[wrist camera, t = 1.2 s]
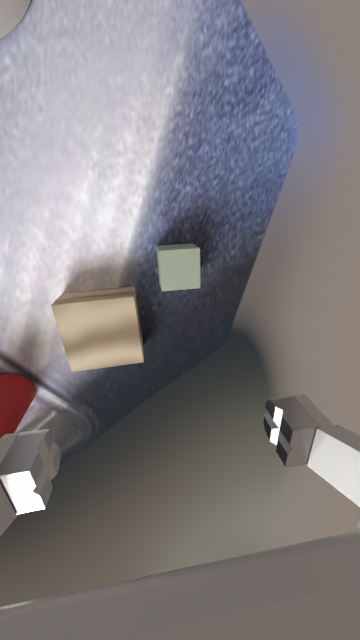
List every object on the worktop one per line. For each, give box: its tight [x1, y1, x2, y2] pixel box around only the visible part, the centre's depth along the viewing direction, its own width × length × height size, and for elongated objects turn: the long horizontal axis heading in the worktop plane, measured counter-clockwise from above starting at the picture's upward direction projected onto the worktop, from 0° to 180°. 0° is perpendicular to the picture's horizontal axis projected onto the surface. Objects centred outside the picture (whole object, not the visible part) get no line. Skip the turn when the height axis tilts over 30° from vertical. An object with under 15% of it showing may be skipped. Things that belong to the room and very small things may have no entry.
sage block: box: [156, 243, 200, 291], centre depth 32 cm, size 5×5×5 cm
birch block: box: [51, 286, 144, 372], centre depth 34 cm, size 10×10×5 cm
